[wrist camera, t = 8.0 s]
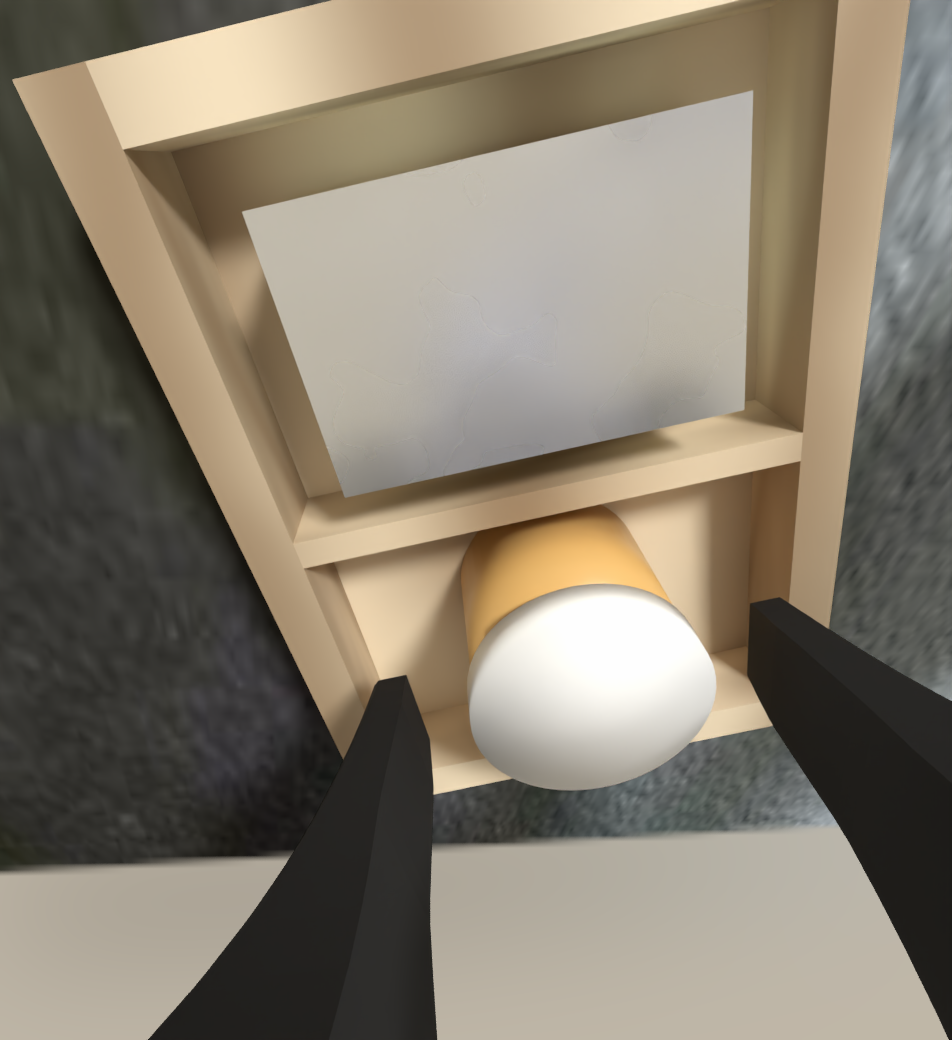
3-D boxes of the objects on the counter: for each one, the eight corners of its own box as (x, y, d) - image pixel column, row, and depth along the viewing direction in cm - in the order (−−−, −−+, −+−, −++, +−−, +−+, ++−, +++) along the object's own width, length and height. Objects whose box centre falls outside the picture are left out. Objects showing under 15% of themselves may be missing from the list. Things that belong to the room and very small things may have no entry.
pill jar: (638, 474, 14) (721, 589, 10) (643, 627, 16) (712, 767, 12) (440, 511, 14) (448, 639, 10) (473, 658, 16) (490, 807, 12)
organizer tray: (816, -79, 10) (929, -148, 8) (769, 650, 18) (817, 716, 16) (98, 97, 10) (11, 79, 8) (373, 731, 18) (366, 807, 16)
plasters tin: (681, 105, 10) (753, 90, 8) (688, 367, 13) (744, 409, 10) (278, 201, 11) (241, 211, 8) (357, 440, 13) (344, 497, 11)
